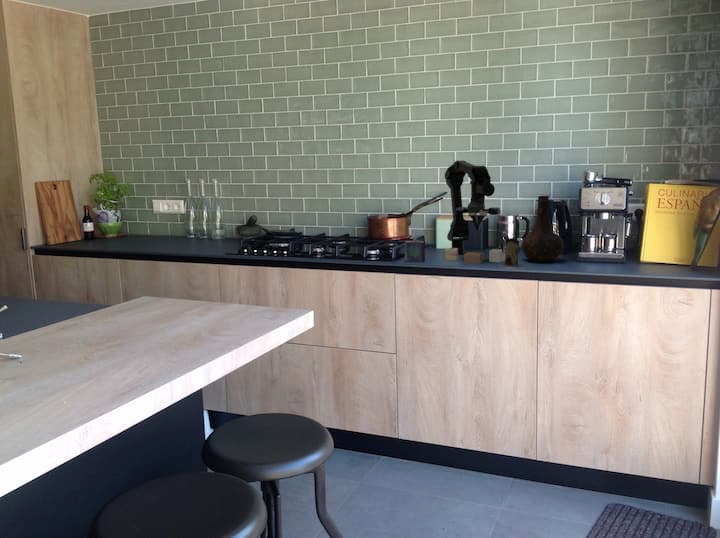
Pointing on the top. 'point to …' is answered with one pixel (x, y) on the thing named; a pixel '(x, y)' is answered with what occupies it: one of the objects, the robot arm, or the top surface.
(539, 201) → the brown bottle vase
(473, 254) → the walnut block
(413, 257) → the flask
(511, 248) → the mug
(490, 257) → the grey block marked
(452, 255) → the beech block marked
